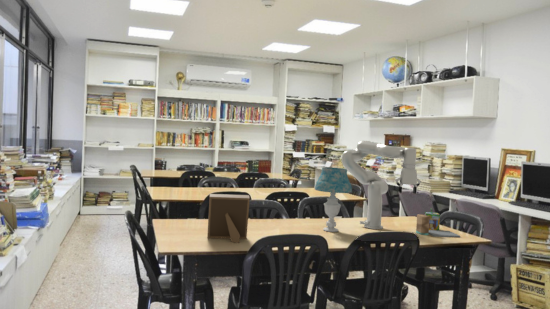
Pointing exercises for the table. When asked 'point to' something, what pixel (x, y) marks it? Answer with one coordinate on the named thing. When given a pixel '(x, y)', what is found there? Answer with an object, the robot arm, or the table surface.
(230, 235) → the photo frame
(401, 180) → the robot arm
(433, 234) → the mat
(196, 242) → the table surface
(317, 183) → the table lamp
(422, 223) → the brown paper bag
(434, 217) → the colorful lidded canister
